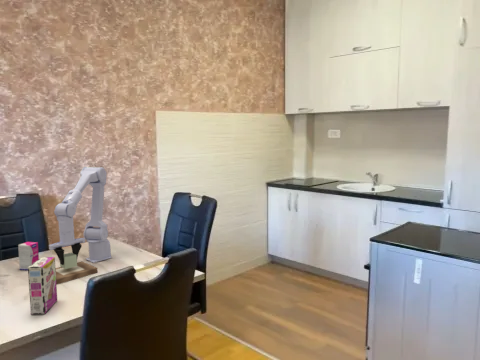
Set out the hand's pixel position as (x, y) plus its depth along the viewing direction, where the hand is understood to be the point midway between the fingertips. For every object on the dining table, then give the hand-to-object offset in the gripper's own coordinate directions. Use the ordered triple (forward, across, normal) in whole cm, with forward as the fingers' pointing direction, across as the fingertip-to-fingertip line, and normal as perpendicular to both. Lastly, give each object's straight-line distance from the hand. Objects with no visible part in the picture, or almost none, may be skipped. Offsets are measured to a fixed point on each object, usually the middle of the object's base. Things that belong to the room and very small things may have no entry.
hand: (68, 262), depth 166 cm
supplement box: (+6, +8, -22) cm, 24 cm away
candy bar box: (+6, +20, +25) cm, 32 cm away
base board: (+5, 0, 0) cm, 5 cm away
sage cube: (+2, 0, 0) cm, 2 cm away
